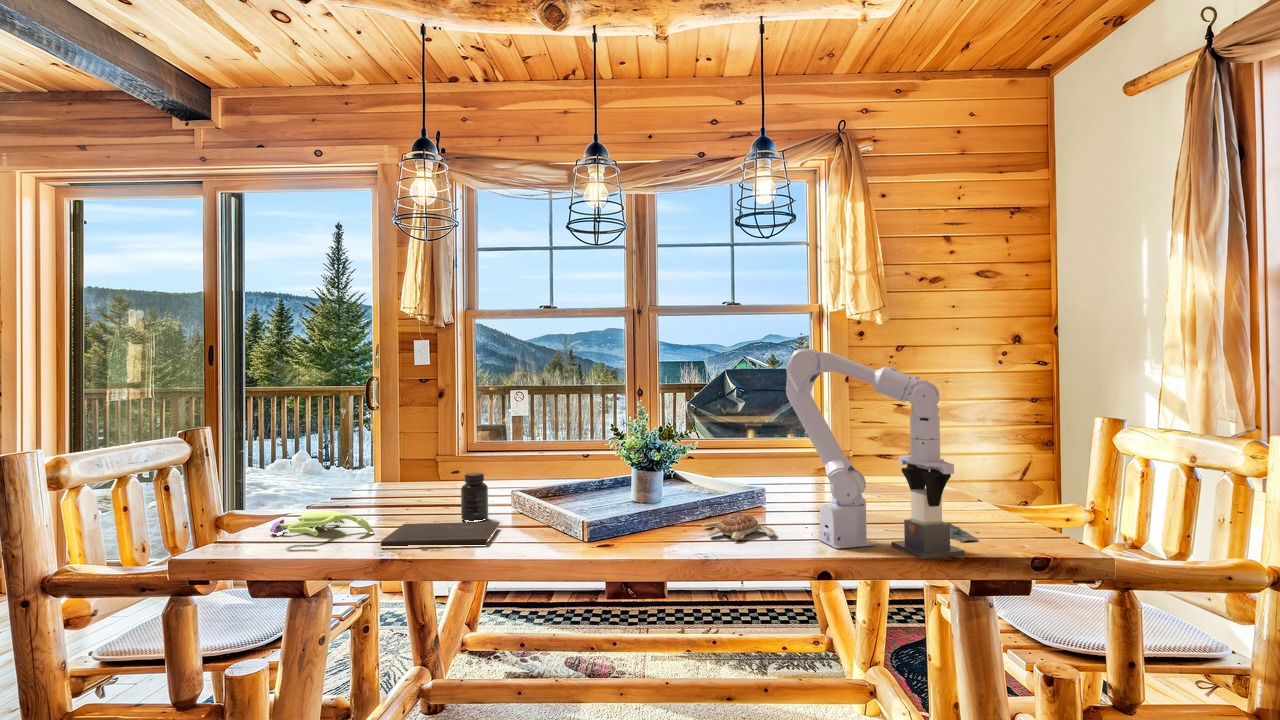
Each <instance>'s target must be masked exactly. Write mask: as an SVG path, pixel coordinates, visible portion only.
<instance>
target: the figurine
mask: <svg viewBox="0 0 1280 720" xmlns="http://www.w3.org/2000/svg"><path fill="white" fill-rule="evenodd" d="M342 519H343V520H350V521H351V522H355V523H356V524H357V525H358V526H359V527H361V528H363V529H365V530H366V532H367V533H369V532H375V530H374V529H373V528H372V527H371V525H370V524H369V523H368V521H367V520H365V519H364V518H361V517H357V516H355V515H352V514H347V513H343V512H339V511H329V510H328V511H326V510H322V511H321V510H320V511H314V512H308V513H303V514H302V515H301V514H300V516H298V518H297V520H298V521H297V522H292V523H285V519H280V520H278V521H276V522H274V523H273V524H272V526H271V528H270V530H269V531H270V532H274V533H278V532H281V531H283V530H285V531H286V530H288V532H289V534H300V533H301V534H310V535H312V536H314V537H317V536H319V531H318V530H317V529H315V530H314V529H313V528H311V527H316V526H319V527H320V528H321V529H322V530H323V529H326V528H327V525H328V524H331V523H332V522H334V523H339V524H340V523H341V522H340V520H342ZM334 523H333V524H334ZM303 527H309V528H303Z"/></svg>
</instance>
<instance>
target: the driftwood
mask: <svg viewBox="0 0 1280 720" xmlns="http://www.w3.org/2000/svg"><path fill="white" fill-rule="evenodd" d="M946 523H947V524H950V540H953V541H958V542H960V543H963V542H966V541H976V542H979V541H980V540H979V538H977V537H975V536H974V535H972V534H971V533H970V532H968V531H966V530H964V529H961V527H960V526H956V525H954V524H952V523H951V522H946Z"/></svg>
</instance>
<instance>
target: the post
mask: <svg viewBox="0 0 1280 720" xmlns="http://www.w3.org/2000/svg"><path fill="white" fill-rule="evenodd" d="M942 499H943V495H942V496H941V500H940V504H939V506H929V505H928V501H927V490H926V488H925V489H914V490H910V507H911V508H910V515H911V517H910V519H911V521H912V522H915V523H918V524H921V525H924V526H926V525H938V524H943V522H944V521H943V504H942V503H943V502H942V501H943V500H942Z"/></svg>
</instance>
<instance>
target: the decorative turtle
mask: <svg viewBox="0 0 1280 720" xmlns="http://www.w3.org/2000/svg"><path fill="white" fill-rule="evenodd" d="M701 526H702V527H703V528H706V527H715V528H713V529H711V530H710V531H708V532H707V535H708V536H711V537H713V536H715V535H717V534H719V533H722V534H724V535H726V536H729V537H730V536H731V537H730V538H731V539H732V540H741V539H744V537H745V536H748V535H750V534H752V533H754V532H755V531H756V530H761V531H763V533H765V534H766V535H767V537H773V536H775V535H776V532H775V530H773V528H770V527H768V526H765V525H763V524H760V523H758V520H757V519H756V518H755V517H754V516H753V515H749V514H747V513H742V512H734V513H731V514H728V515H726V516H725V517H724V518H722V519H721V520H717V521H711V522H706V523H703V524H701Z"/></svg>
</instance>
